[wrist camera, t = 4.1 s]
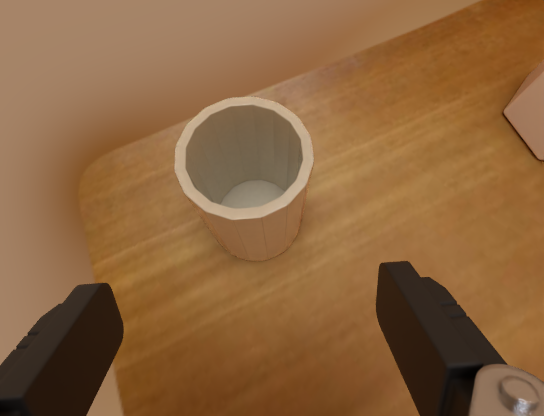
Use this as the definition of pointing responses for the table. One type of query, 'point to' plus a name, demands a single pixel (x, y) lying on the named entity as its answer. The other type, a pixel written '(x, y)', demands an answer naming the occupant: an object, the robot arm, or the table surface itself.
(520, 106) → the jar
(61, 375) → the robot arm
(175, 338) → the table surface
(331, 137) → the table surface
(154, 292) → the table surface
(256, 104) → the tan hollow cylinder
